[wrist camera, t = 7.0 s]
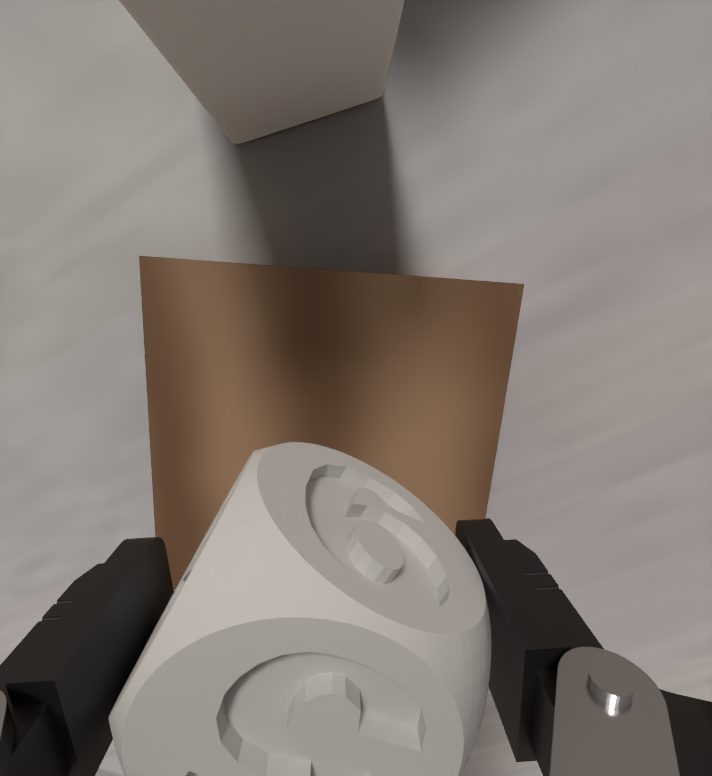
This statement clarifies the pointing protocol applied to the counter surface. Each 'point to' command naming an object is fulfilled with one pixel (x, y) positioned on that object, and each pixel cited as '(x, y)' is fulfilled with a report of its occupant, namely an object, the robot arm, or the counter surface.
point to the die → (313, 635)
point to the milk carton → (274, 56)
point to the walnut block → (320, 381)
